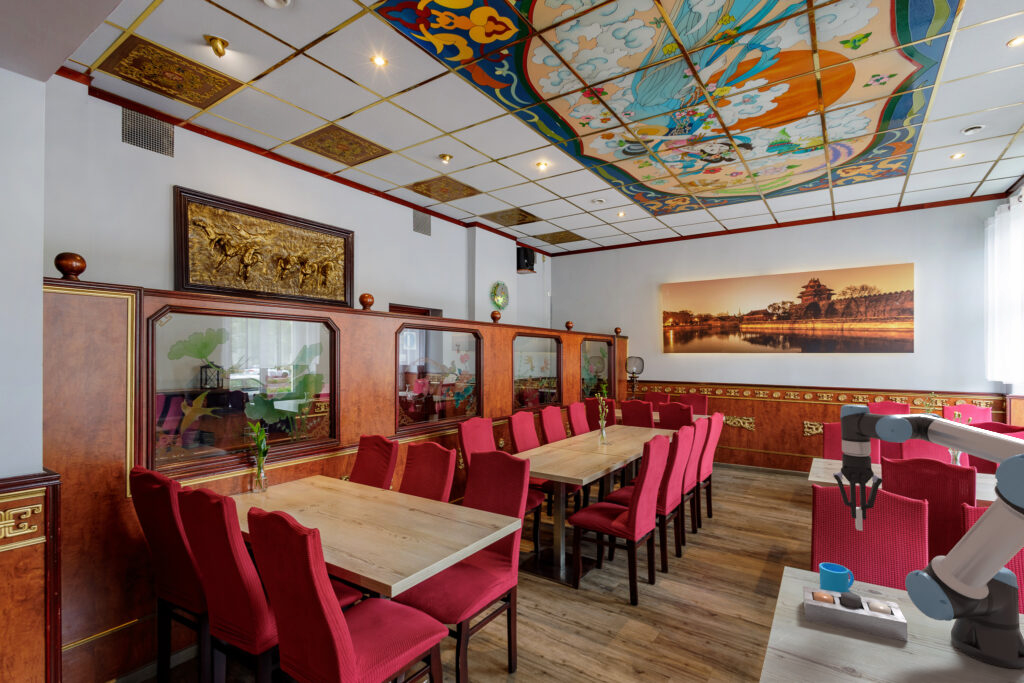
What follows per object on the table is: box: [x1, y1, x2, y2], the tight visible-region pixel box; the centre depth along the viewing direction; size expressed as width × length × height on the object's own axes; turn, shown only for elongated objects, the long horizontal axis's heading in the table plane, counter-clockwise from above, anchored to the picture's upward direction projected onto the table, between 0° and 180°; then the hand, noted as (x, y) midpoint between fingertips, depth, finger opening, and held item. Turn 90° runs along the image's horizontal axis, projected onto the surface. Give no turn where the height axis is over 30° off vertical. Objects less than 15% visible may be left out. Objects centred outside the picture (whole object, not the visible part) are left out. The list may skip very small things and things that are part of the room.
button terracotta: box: [814, 592, 833, 604], centre depth 147 cm, size 5×5×4 cm
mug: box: [818, 562, 855, 593], centre depth 161 cm, size 12×8×8 cm
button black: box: [841, 591, 862, 609], centre depth 144 cm, size 5×5×4 cm
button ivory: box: [869, 602, 891, 615], centre depth 140 cm, size 5×5×4 cm
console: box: [802, 585, 909, 642], centre depth 143 cm, size 24×12×5 cm, turn 62°
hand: (859, 528), depth 151 cm, fingers closed
